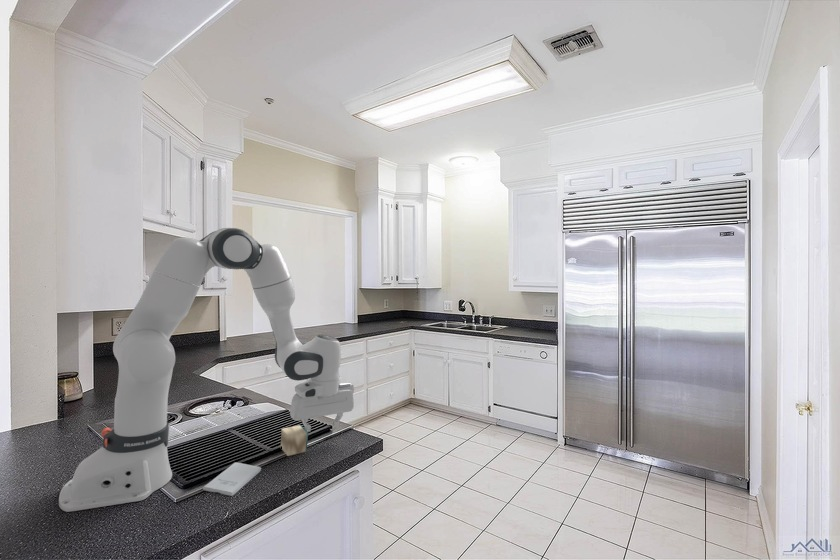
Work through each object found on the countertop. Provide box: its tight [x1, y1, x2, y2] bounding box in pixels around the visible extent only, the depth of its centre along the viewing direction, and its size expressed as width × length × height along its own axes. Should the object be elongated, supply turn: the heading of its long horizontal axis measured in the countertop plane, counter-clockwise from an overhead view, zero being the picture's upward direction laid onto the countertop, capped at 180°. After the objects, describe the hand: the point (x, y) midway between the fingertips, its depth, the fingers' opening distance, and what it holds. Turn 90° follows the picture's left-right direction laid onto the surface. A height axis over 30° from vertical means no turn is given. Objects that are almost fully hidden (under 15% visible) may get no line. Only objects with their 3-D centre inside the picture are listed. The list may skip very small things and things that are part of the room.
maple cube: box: [280, 424, 309, 457], centre depth 127 cm, size 6×6×6 cm
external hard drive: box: [202, 461, 262, 497], centre depth 109 cm, size 2×8×12 cm
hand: (321, 428), depth 132 cm, fingers open, 8 cm apart
